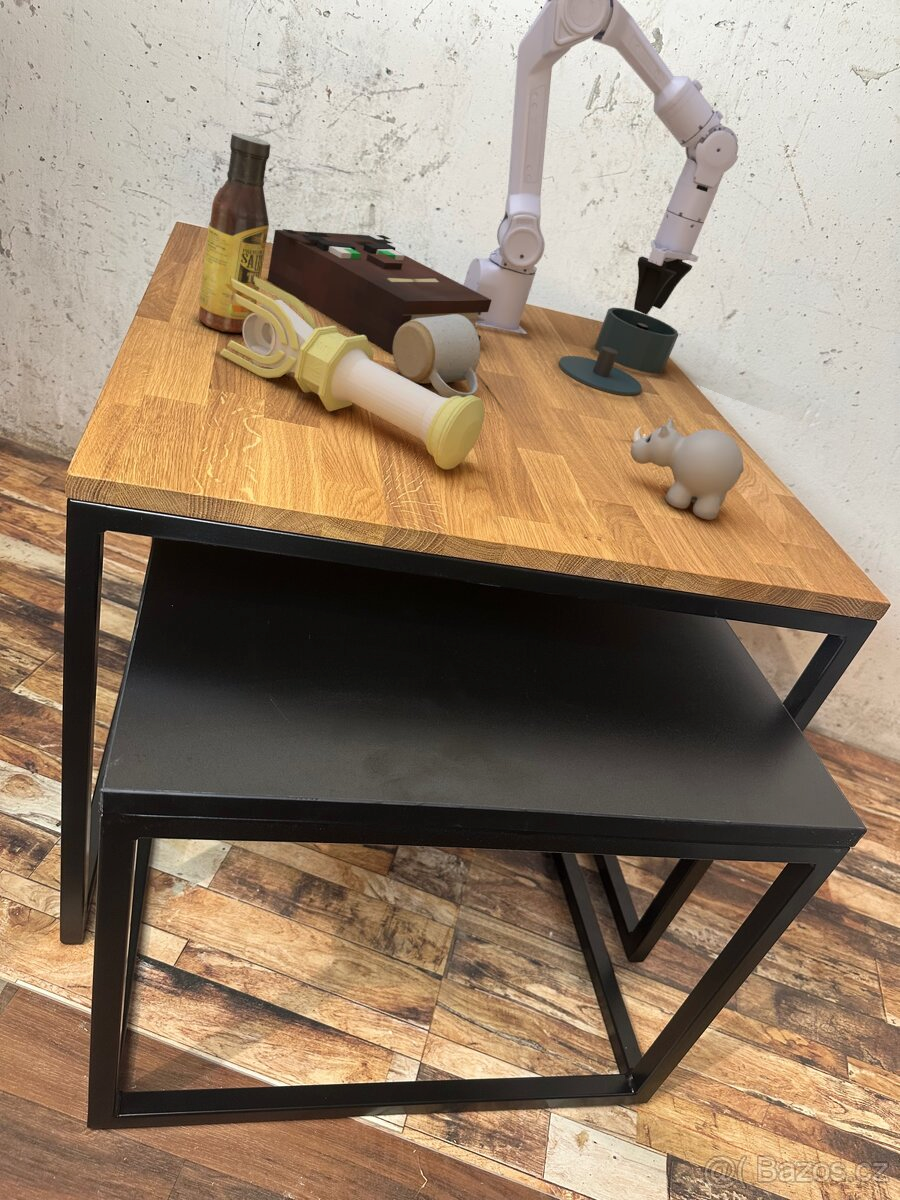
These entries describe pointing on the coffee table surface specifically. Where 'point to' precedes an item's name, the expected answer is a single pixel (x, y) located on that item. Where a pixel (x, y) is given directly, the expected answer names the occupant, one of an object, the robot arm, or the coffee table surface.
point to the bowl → (637, 340)
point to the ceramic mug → (438, 352)
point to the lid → (601, 373)
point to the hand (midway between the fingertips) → (647, 309)
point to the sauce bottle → (235, 236)
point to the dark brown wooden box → (366, 283)
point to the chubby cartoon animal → (693, 465)
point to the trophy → (350, 374)
